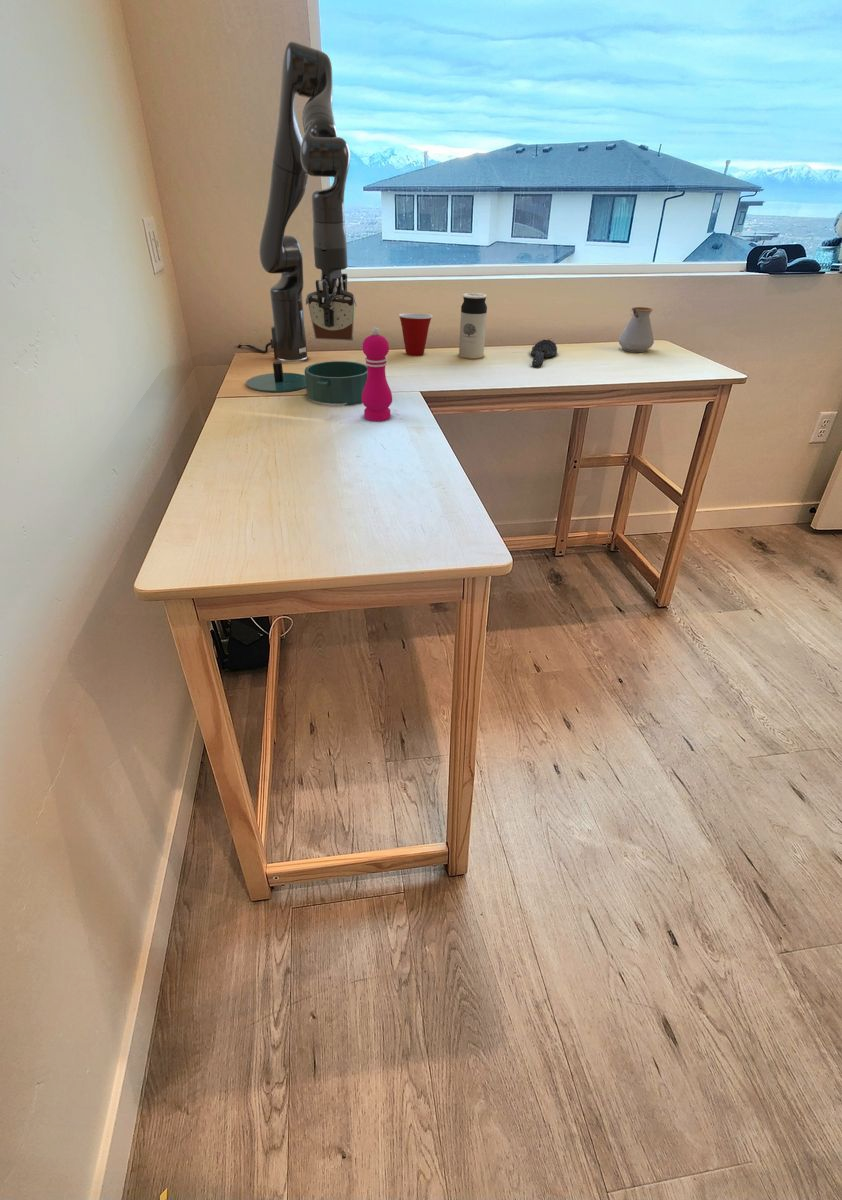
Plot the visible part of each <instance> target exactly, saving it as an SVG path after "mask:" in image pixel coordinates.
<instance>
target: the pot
mask: <svg viewBox="0 0 842 1200" xmlns="http://www.w3.org/2000/svg"><path fill="white" fill-rule="evenodd" d="M367 374H368V370H367V365H366V364H365V363H361V362H358V361H349V360H347V361H346V360H331V361H330V360H329V361H321V362H316V363H313V364H310V365H308V366H306V367H305V368H304V375H305V382H306V388H305V392H306V393H305V394H306V397H307V398H308V399H309V400H311V401H314V402H317V403H322V404H331V405H332V404H333V405H337V404H339V405H342V404H343V405H344V407H345V406H353V405H358V404H363V403H362V392H363V389H364V387H365V384H366V381H367Z"/></svg>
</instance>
